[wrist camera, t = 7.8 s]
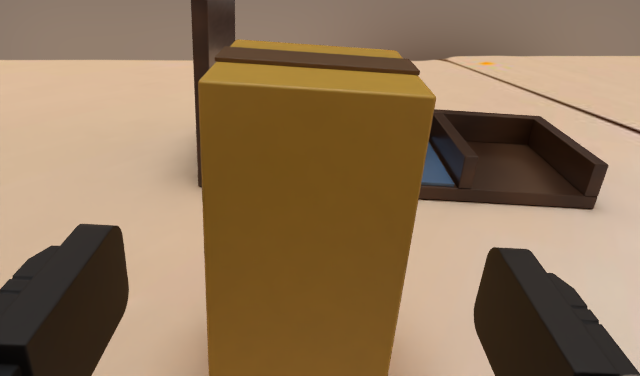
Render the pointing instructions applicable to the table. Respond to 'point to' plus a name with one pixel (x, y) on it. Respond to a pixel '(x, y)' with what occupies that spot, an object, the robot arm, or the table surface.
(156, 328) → the table surface
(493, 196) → the tray
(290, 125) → the parcel
